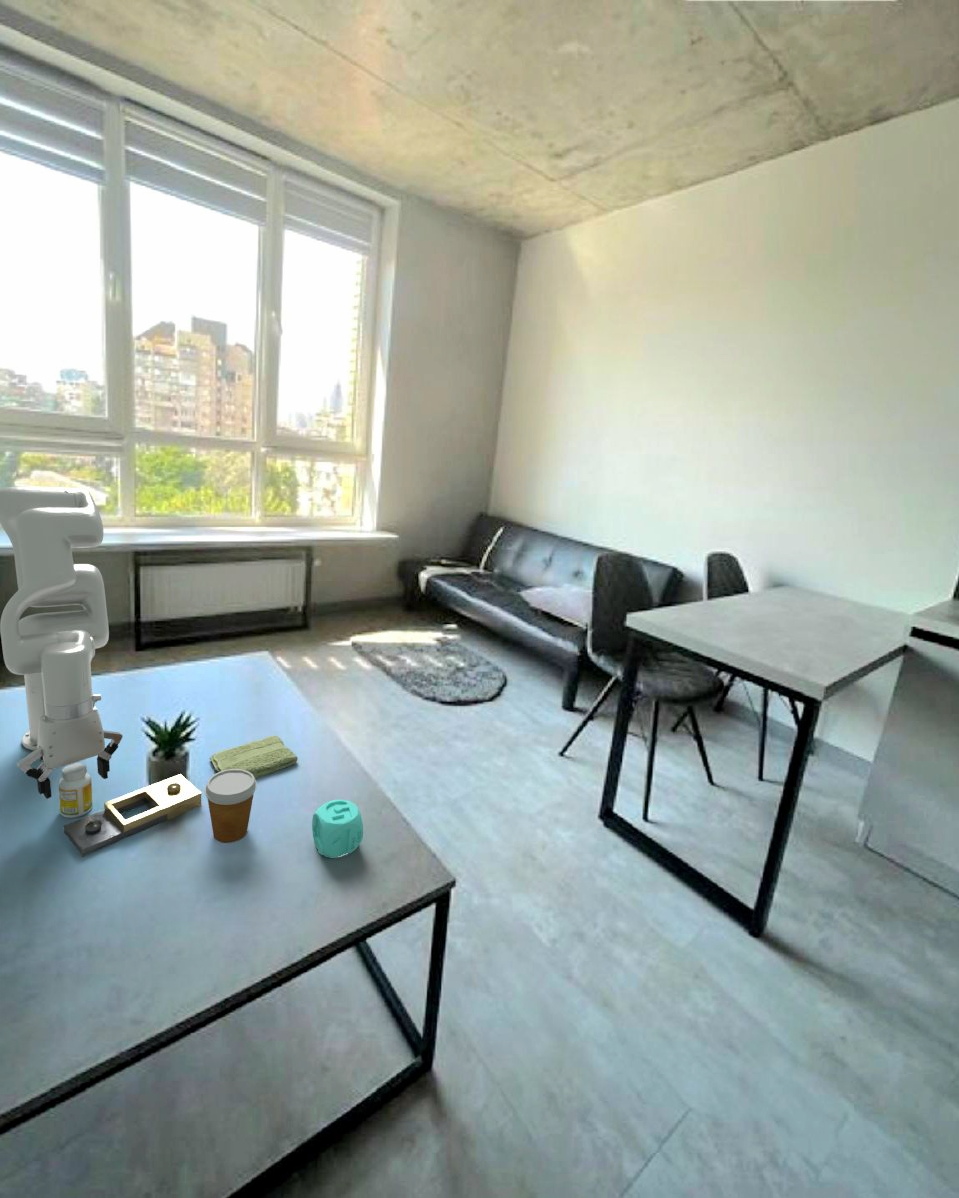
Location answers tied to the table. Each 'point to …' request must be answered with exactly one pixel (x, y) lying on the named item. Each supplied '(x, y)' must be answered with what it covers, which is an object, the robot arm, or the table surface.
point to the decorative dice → (337, 828)
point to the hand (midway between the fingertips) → (75, 785)
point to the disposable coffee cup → (230, 803)
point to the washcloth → (255, 757)
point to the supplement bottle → (75, 791)
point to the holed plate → (112, 827)
